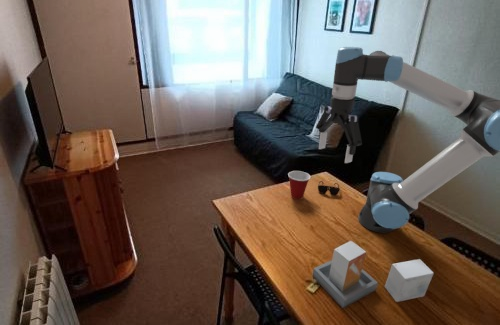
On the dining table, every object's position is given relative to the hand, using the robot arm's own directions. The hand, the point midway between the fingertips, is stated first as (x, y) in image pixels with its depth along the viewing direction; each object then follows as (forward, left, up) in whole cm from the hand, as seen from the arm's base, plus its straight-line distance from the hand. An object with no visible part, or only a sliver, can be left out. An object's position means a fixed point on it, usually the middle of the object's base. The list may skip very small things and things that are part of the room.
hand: (334, 155), depth 109 cm
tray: (+12, +24, -35) cm, 44 cm away
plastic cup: (-7, -27, -35) cm, 45 cm away
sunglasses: (-25, -25, -35) cm, 50 cm away
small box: (+12, +24, -34) cm, 43 cm away
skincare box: (-3, +36, -35) cm, 50 cm away
